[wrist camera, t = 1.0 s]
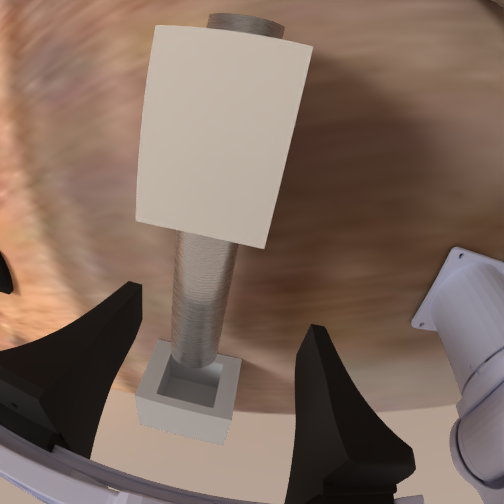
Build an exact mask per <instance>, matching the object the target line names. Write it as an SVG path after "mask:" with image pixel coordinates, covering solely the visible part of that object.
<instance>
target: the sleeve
mask: <svg viewBox="0 0 504 504" xmlns="http://www.w3.org/2000/svg"><path fill="white" fill-rule="evenodd" d="M312 50H313V46H309V45H305V44H301V43H296V42H292V41H287V40H282V39H277V38H272V37H267V36H261V35H255V34H249V33H243V32H236V31H228V30H220V29H210V28H200V27H187V26H168V25H156V28H155V33H154V38H153V44H152V50H151V56H150V62H149V68H148V75H147V82H146V89H145V97H144V106H143V115H142V124H141V135H140V146H139V159H138V175H137V196H136V221H138V222H143V223H147V224H152V225H157V226H161V227H166V228H170V229H175V230H180V231H184V232H189V233H193V234H198V235H202V236H207V237H211V238H216V239H221V240H225V241H230V242H234V243H239V244H243V245H248V246H252V247H257V248H261V249H264V248H265V244H266V240H267V236H268V232H269V228H270V224H271V220H272V216H273V212H274V208H275V204H276V200H277V196H278V192H279V188H280V184H281V180H282V175H283V171H284V167H285V163H286V159H287V155H288V151H289V147H290V143H291V138H292V134H293V130H294V126H295V122H296V118H297V114H298V109H299V105H300V101H301V97H302V93H303V88H304V84H305V80H306V76H307V71H308V67H309V63H310V59H311V54H312Z"/></svg>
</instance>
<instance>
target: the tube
mask: <svg viewBox="0 0 504 504" xmlns="http://www.w3.org/2000/svg"><path fill="white" fill-rule="evenodd" d="M207 28H210V29H220V30H228V31H236V32H243V33H249V34H255V35H261V36H267V37H272V38H277V39H283V34H284V30H285V27H284V26H282V25H280V24H278V23H275V22H273V21H269V20H266V19H262V18H257V17H253V16H247V15H240V14H229V13H215V14H210V15H209V19H208V24H207ZM238 245H239V243H234V242H230V241H225V240H221V239H216V238H211V237H207V236H202V235H198V234H193V233H189V232H184V231H180V230H177V238H176V250H175V264H174V279H173V297H172V318H171V348H170V349H171V354H172V356H173V358H174V359H175V361H177V362H178V363H179V364H181V365H182V366H185V367H188V368H193V369H199V368H204V367H207V366H209V365H210V364H212V363H213V362H214V360H215V359H216V357H217V352H218V347H219V342H220V336H221V331H222V326H223V321H224V316H225V310H226V305H227V300H228V295H229V290H230V285H231V280H232V275H233V270H234V265H235V260H236V255H237V250H238Z"/></svg>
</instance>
